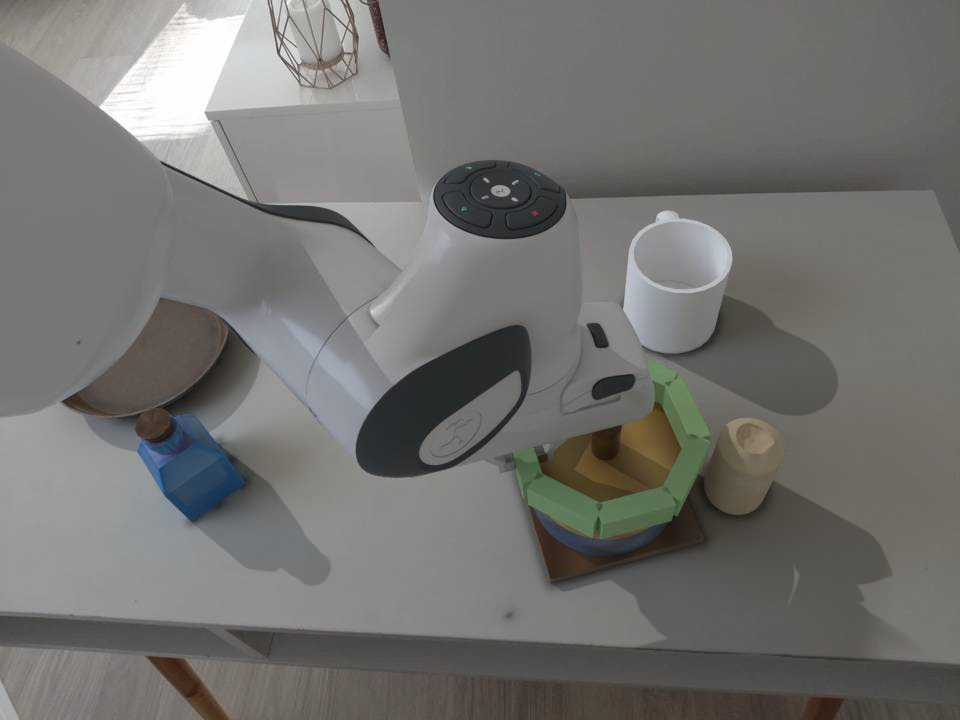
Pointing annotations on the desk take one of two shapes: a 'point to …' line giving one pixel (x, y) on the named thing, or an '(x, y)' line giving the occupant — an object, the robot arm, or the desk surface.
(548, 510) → the ring
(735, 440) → the candle
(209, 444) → the perfume bottle
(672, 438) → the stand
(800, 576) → the desk surface
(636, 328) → the mug
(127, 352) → the plant saucer
